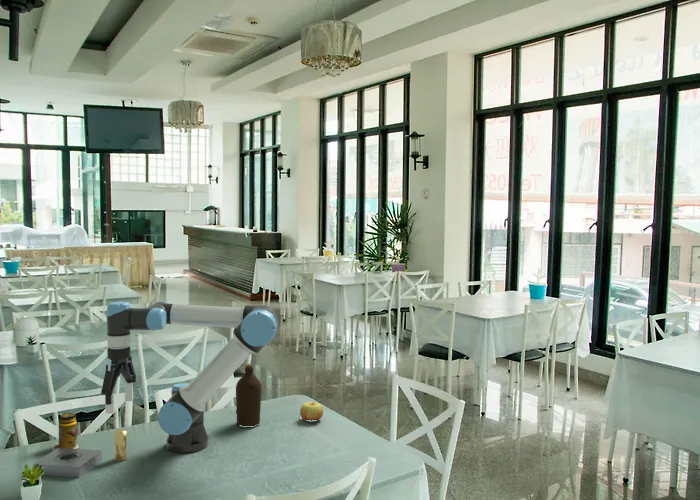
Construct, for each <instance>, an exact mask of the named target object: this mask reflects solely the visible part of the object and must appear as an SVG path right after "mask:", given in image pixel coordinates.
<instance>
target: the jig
mask: <svg viewBox="0 0 700 500" xmlns="http://www.w3.org/2000/svg"><path fill="white" fill-rule="evenodd" d="M102 454H103V451H102V450H98V449H83V448H77V449H72V448H57V449H55V450H54V451H53V450H52V451H51V452H48V453H47V454H46V455H45V456H43V457H42V458H39V460H37V461H35V462H33V464H32V465H33V466H34V465H36V464H39V465H41V466H42V467H43V468H44V474H43V475H42V476H50V477H51V476H53V477H66V478H81V477H82V476H83V475H84V474H86V473H87V472H89V471H90V470H91V469H93V468H94V467H96V465H98V464H99V463H100V462H102ZM33 466H32V467H33Z"/></svg>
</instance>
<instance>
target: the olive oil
mask: <svg viewBox="0 0 700 500" xmlns="http://www.w3.org/2000/svg"><path fill="white" fill-rule="evenodd" d="M244 366H245V367H244V374H243V375H242V376H241V377H240V378H239V379H238V381H237V383H236V385H235V402H236V403H235V405H236V407H235V408H236V410H235V414H236V425H237V424H238V425H242V426H255V425H257V424H259V423H260V424H261V404H262V392H263V391H262V390H263V386H262V382H261V380H260V379H259V378H258V377H257V376H256V374H254V364H253V363H246V364H245V365H244ZM260 424H259V425H260ZM238 425H237V426H238Z"/></svg>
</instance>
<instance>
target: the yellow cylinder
mask: <svg viewBox="0 0 700 500" xmlns="http://www.w3.org/2000/svg"><path fill="white" fill-rule="evenodd" d="M127 458H128V429H123V428H121V429H117V430H115V431H114V461H115V462H118V463H119V462H120V463H121V462H125V461H126V460H128V459H127Z"/></svg>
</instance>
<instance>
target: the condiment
mask: <svg viewBox="0 0 700 500" xmlns="http://www.w3.org/2000/svg"><path fill="white" fill-rule="evenodd" d="M76 419H77V418H76V414H75V413H73V412H68V413H67V412H66V413H63V414H60V416H59V423H58V443H57V444H52V445H50V446H51V450H52V451H54V450H55V449H57V448H72V449H80V446H79V445H78V440H77V437H78V429H77V428H78V427H77V426H78V423H77V420H76Z"/></svg>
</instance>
